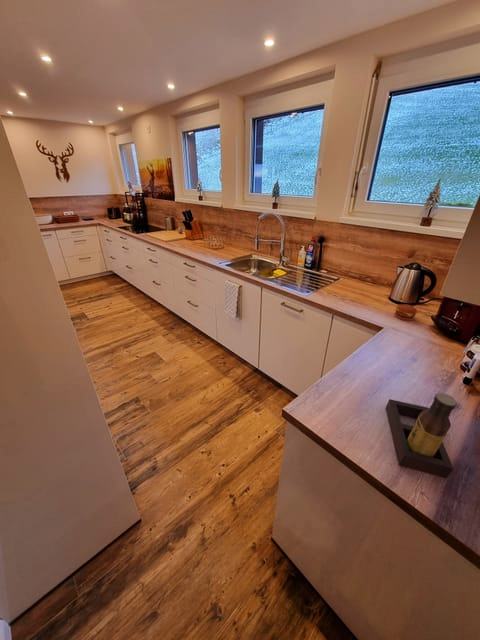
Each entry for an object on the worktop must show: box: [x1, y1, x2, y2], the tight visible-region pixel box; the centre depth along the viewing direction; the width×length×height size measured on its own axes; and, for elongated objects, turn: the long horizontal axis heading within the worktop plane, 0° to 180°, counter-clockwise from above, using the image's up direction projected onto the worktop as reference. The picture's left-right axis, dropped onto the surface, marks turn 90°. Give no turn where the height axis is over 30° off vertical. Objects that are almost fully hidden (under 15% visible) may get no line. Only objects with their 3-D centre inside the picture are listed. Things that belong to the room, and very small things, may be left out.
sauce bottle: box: [406, 392, 458, 458], centre depth 65 cm, size 6×6×20 cm
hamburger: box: [393, 303, 419, 322], centre depth 137 cm, size 9×10×7 cm
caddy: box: [385, 399, 454, 479], centre depth 72 cm, size 11×20×4 cm, turn 163°
